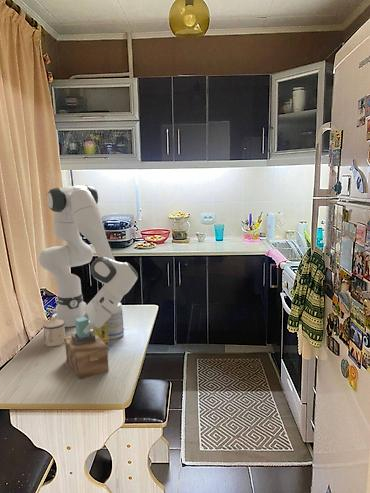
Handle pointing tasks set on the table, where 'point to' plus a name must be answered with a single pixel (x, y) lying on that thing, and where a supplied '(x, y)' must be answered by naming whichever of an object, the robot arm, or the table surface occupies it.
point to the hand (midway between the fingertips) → (82, 327)
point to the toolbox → (86, 354)
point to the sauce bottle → (102, 332)
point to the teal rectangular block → (81, 327)
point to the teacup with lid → (54, 332)
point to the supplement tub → (116, 324)
